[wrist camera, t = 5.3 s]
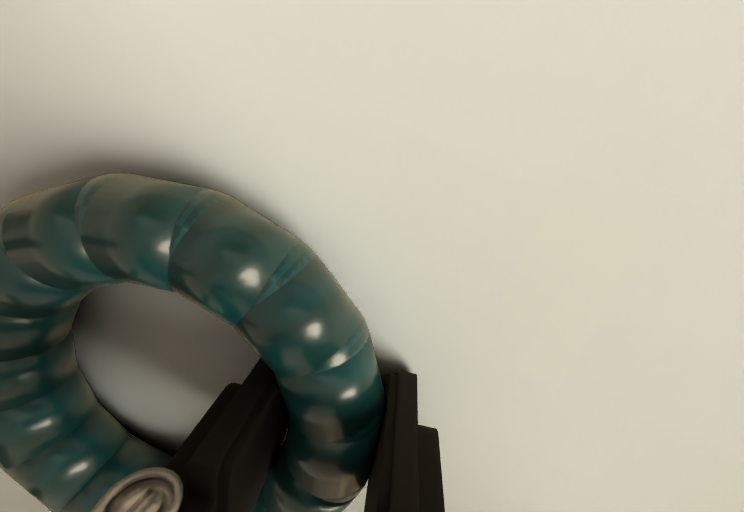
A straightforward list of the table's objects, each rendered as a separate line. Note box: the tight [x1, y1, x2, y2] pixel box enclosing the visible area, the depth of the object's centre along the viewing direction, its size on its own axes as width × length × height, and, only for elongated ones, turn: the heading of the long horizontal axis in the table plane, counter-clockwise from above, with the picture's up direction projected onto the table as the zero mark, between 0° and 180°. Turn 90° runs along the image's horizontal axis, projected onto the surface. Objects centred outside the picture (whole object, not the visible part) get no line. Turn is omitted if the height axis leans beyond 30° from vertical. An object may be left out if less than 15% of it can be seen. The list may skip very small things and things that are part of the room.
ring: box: [0, 173, 386, 512], centre depth 9 cm, size 11×11×2 cm
